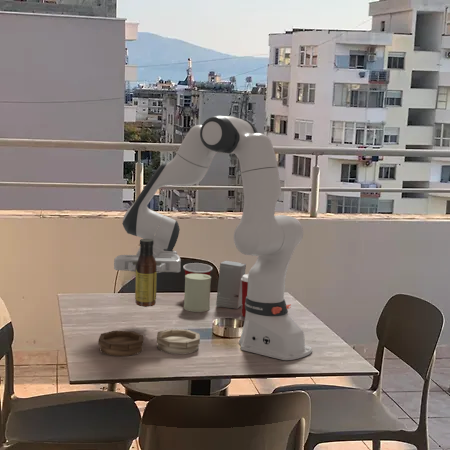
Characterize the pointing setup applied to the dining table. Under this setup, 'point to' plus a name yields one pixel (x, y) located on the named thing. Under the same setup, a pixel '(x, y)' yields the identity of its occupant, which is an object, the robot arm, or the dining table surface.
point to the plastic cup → (197, 268)
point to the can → (197, 292)
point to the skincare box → (230, 284)
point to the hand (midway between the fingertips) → (145, 269)
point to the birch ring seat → (178, 341)
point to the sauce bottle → (146, 275)
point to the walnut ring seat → (121, 343)
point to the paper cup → (244, 292)
